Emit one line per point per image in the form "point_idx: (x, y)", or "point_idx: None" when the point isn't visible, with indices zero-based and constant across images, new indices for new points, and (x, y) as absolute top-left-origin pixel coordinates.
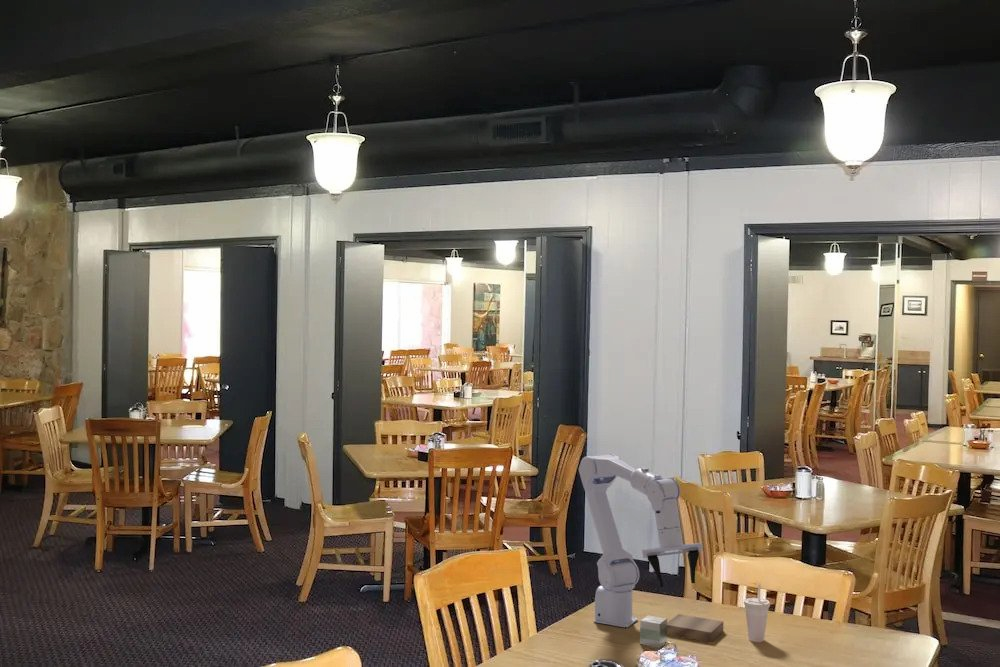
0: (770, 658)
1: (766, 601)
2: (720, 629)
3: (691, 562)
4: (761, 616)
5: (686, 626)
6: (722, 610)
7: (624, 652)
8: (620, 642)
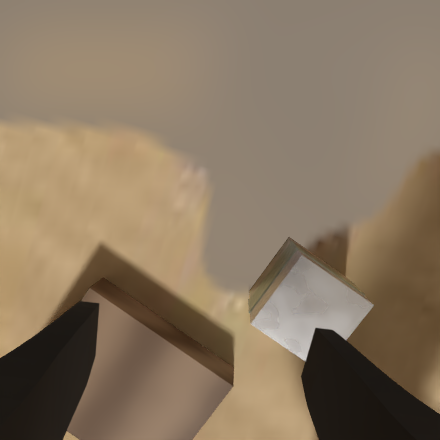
0: None
1: None
2: None
3: (3, 399)
4: None
5: (160, 357)
6: None
7: (420, 205)
8: (407, 303)
